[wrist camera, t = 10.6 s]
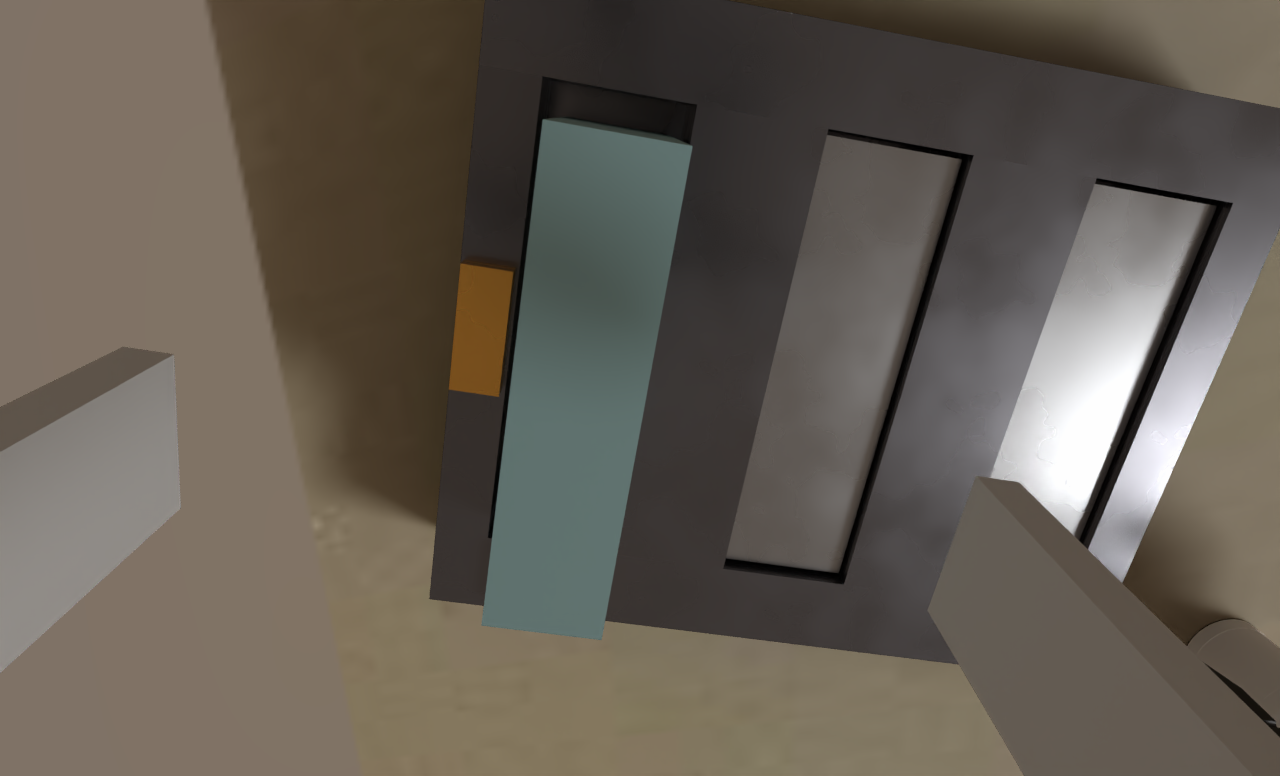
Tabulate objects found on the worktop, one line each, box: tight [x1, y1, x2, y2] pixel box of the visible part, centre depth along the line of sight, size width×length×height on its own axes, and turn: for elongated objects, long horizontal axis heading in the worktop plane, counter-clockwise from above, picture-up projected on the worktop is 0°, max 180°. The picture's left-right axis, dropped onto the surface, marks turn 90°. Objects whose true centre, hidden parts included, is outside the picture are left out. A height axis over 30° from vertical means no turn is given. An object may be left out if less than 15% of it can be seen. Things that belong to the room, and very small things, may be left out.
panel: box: [482, 117, 693, 640], centre depth 21 cm, size 12×3×8 cm, turn 170°
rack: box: [429, 0, 1280, 664], centre depth 24 cm, size 18×22×5 cm
